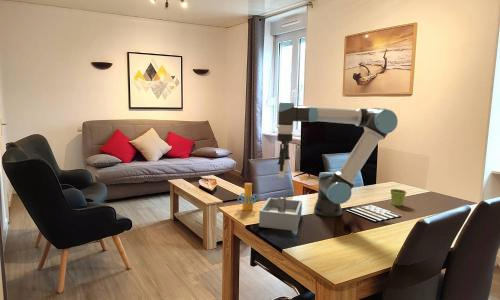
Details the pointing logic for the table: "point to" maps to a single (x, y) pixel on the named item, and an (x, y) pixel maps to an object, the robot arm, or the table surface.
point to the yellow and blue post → (248, 198)
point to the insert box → (280, 215)
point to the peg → (282, 204)
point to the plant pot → (397, 196)
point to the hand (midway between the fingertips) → (283, 174)
